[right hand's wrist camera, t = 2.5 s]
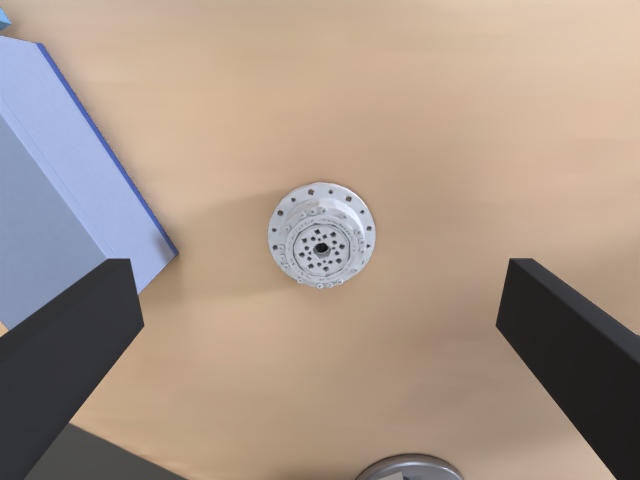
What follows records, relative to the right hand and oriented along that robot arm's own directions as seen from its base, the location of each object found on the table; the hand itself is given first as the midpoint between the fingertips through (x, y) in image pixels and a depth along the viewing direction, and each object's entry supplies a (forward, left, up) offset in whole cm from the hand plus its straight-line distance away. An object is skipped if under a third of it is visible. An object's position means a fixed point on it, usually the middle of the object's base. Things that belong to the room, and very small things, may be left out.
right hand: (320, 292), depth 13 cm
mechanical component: (-5, -3, -21) cm, 22 cm away
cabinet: (-12, +19, -21) cm, 31 cm away
